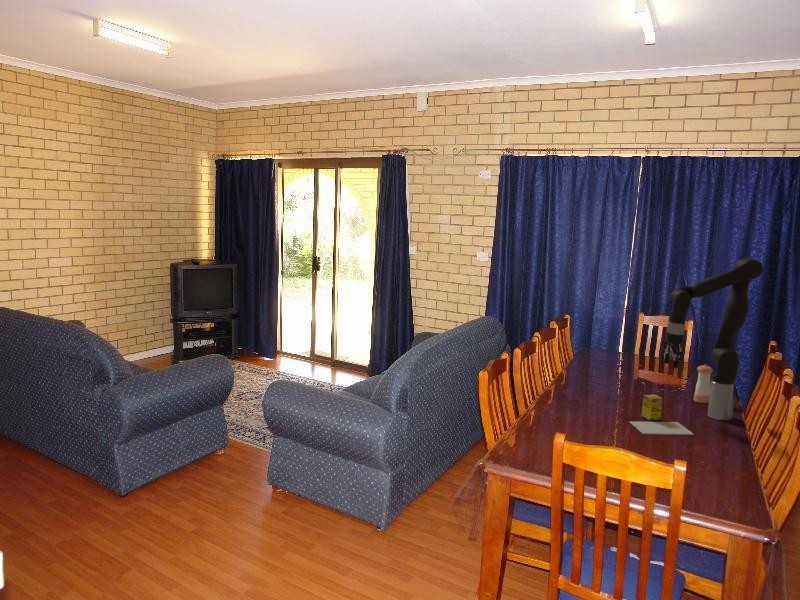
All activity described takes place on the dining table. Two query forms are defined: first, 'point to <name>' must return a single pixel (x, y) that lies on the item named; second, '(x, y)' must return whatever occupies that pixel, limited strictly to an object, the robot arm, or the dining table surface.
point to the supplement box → (652, 407)
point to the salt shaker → (703, 384)
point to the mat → (661, 428)
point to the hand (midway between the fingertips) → (670, 365)
